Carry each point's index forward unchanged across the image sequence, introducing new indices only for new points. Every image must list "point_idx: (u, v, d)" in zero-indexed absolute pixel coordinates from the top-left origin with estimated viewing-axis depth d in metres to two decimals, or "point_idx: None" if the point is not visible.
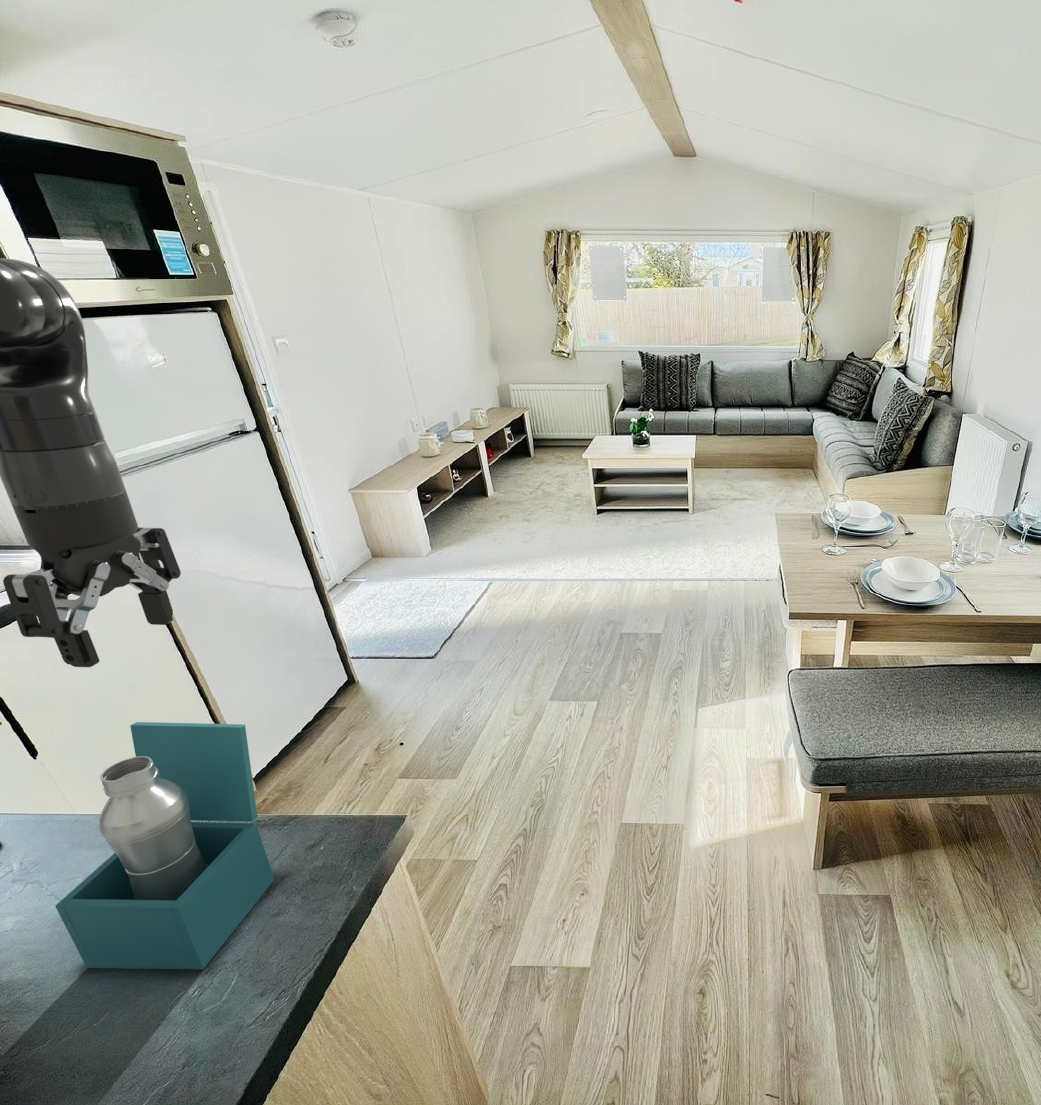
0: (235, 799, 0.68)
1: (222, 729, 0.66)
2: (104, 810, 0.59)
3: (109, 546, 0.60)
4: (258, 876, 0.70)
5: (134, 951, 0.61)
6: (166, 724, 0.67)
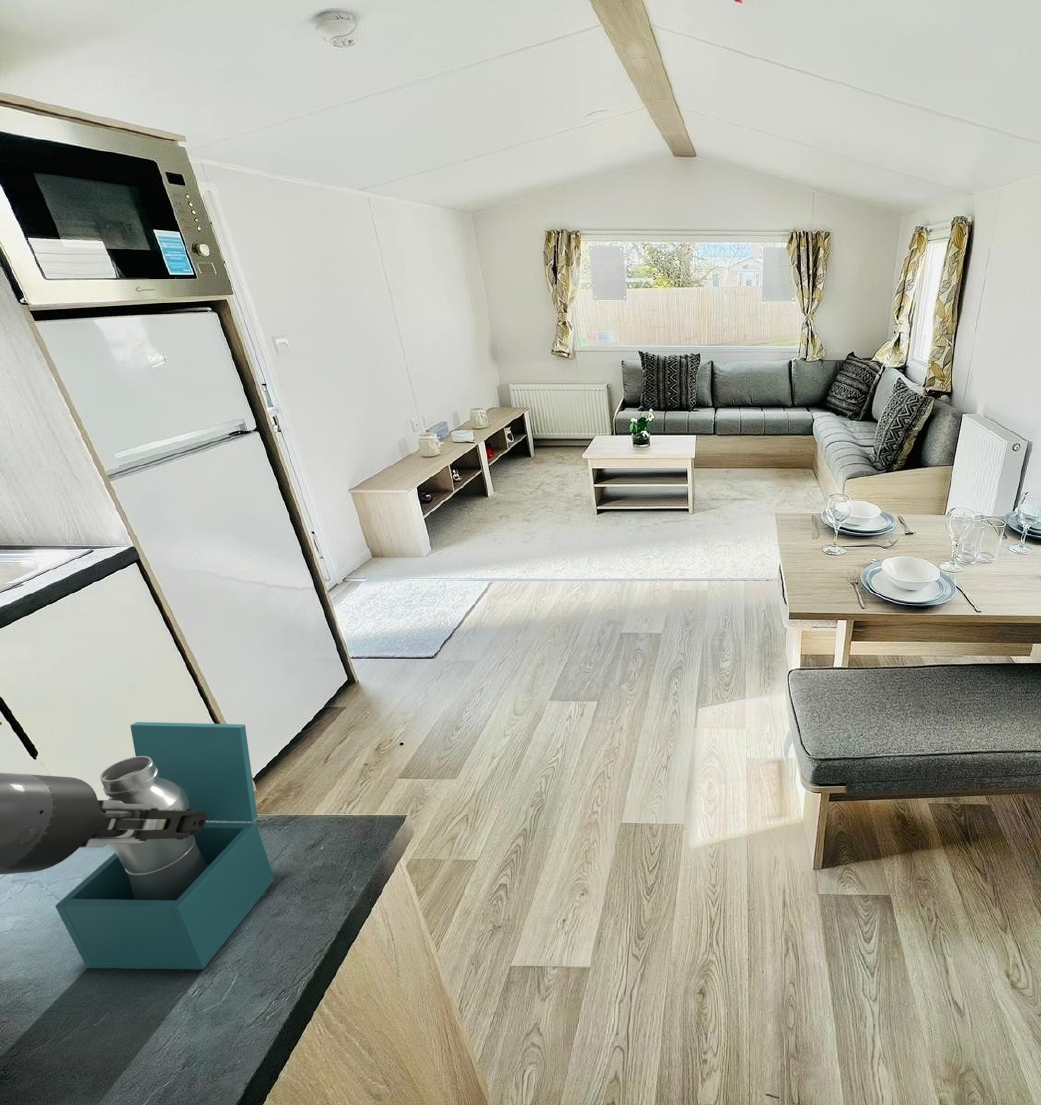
0: (235, 799, 0.68)
1: (222, 729, 0.66)
2: None
3: None
4: (258, 876, 0.70)
5: (134, 951, 0.61)
6: (166, 724, 0.67)
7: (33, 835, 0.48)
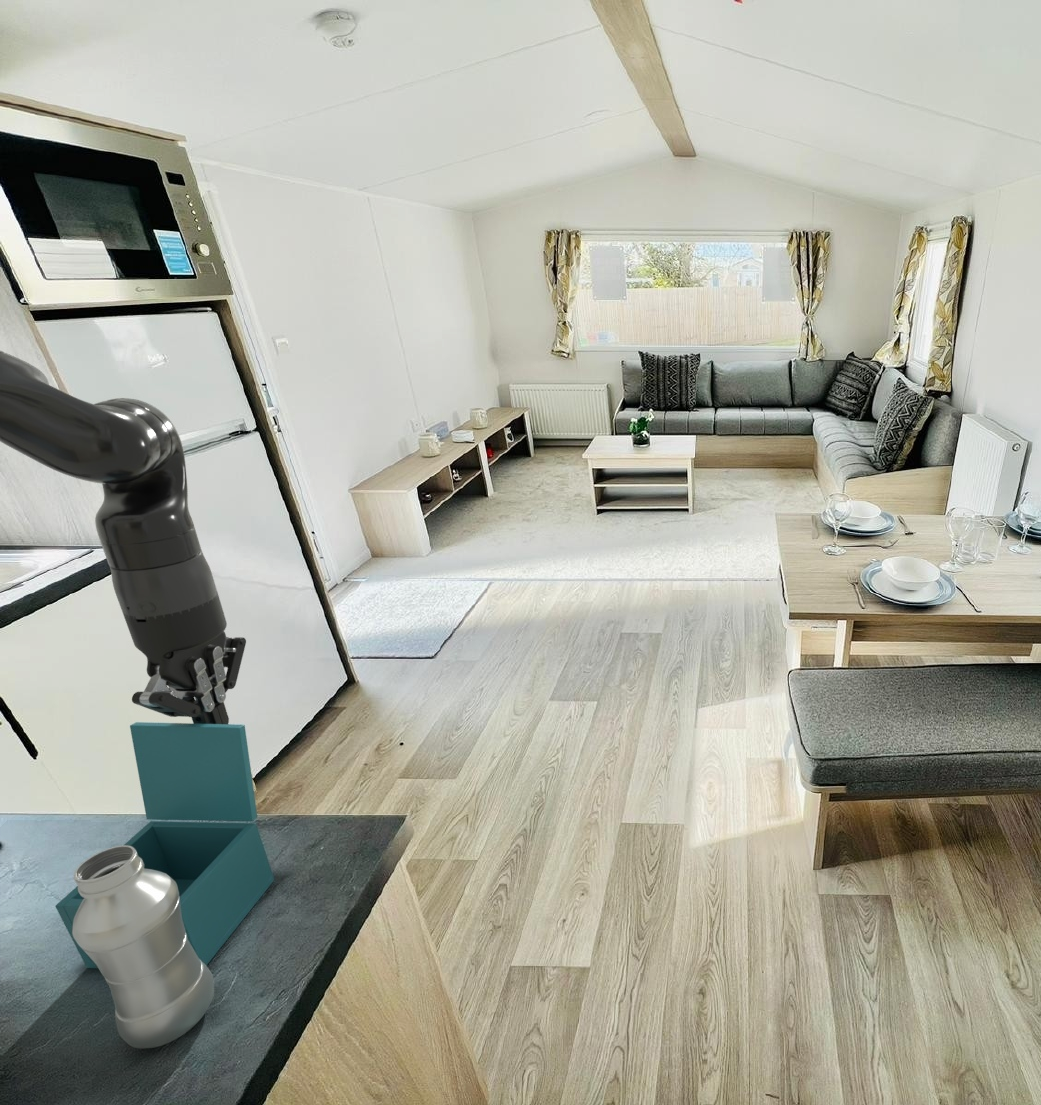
0: (234, 799, 0.68)
1: (222, 729, 0.66)
2: (79, 913, 0.50)
3: None
4: (258, 876, 0.70)
5: None
6: (166, 724, 0.66)
7: None
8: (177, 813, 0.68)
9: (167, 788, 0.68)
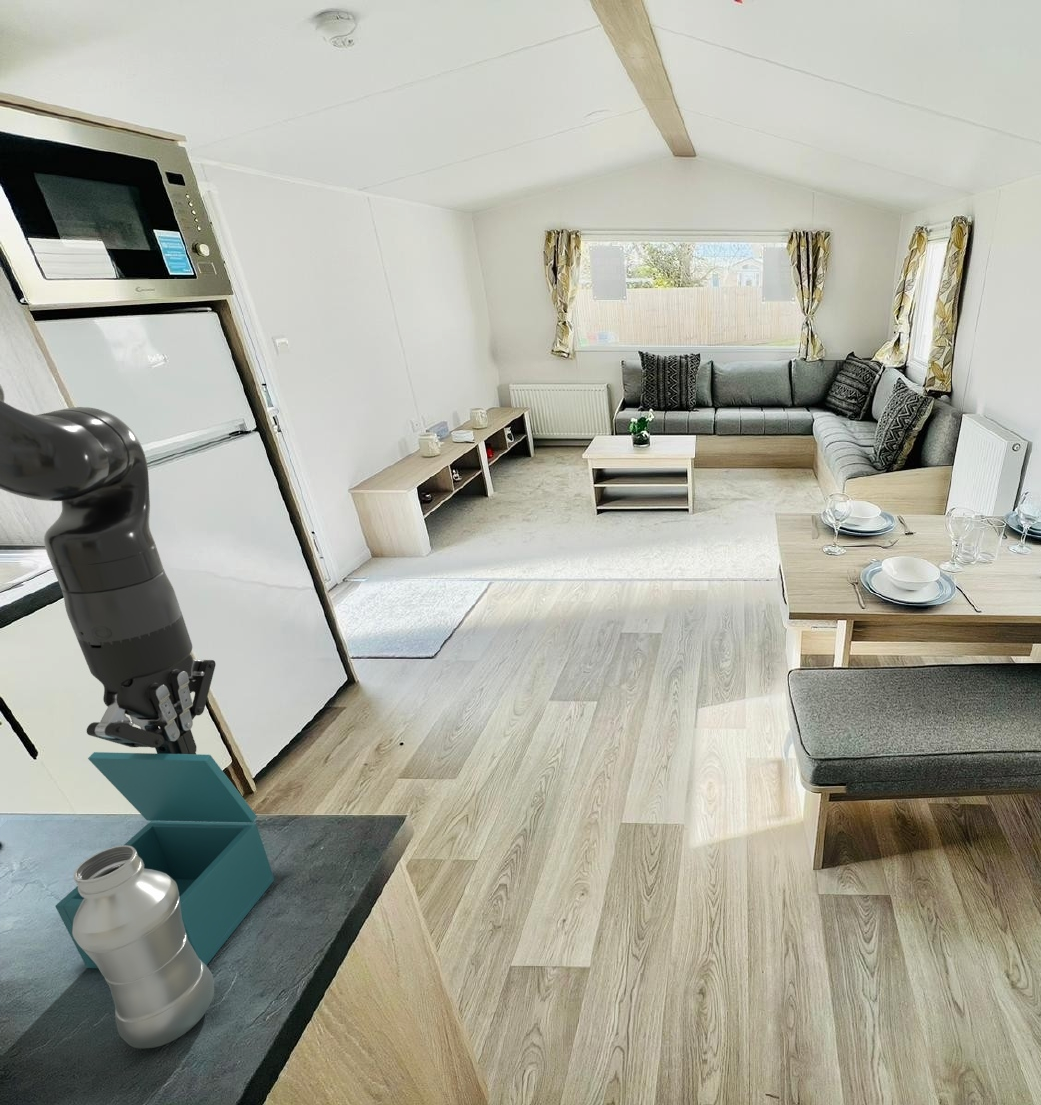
0: (227, 808, 0.67)
1: (187, 762, 0.62)
2: (79, 913, 0.50)
3: None
4: (258, 876, 0.70)
5: None
6: (126, 756, 0.62)
7: None
8: (175, 817, 0.68)
9: (155, 801, 0.66)
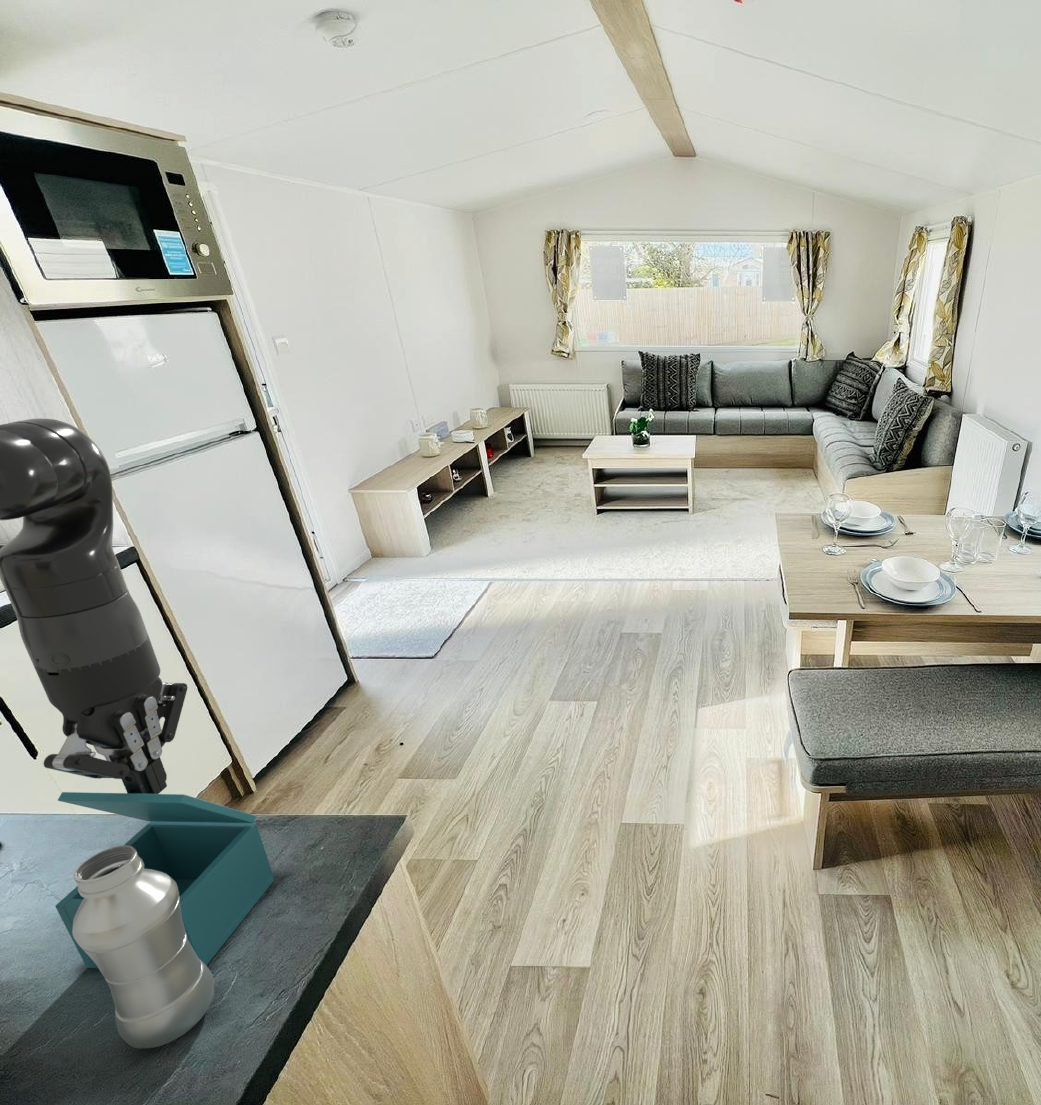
0: (222, 818, 0.66)
1: (162, 803, 0.59)
2: (79, 913, 0.50)
3: None
4: (258, 876, 0.70)
5: None
6: (96, 797, 0.59)
7: None
8: (174, 820, 0.68)
9: (147, 815, 0.65)
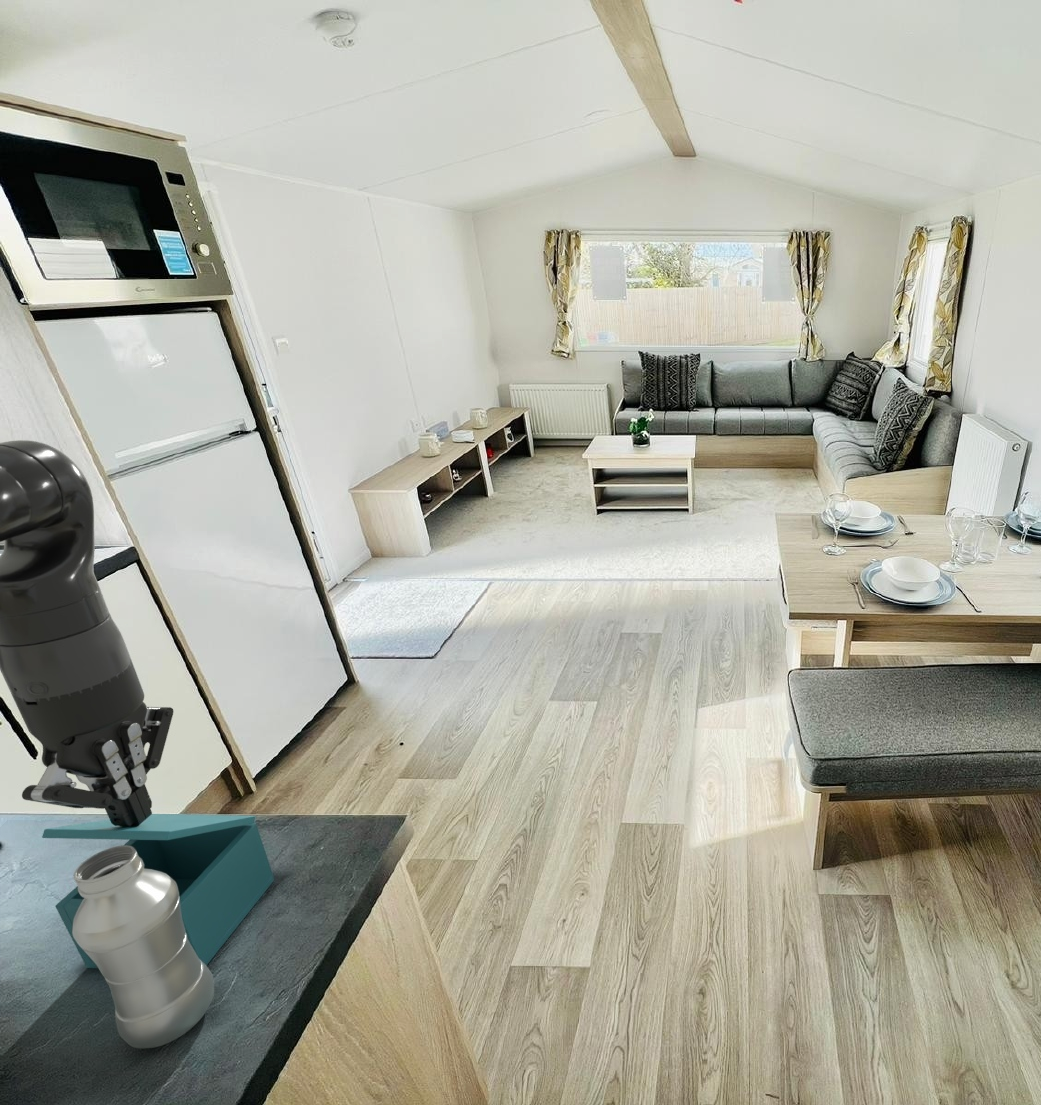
0: None
1: (149, 839, 0.58)
2: (79, 913, 0.50)
3: None
4: (258, 876, 0.70)
5: None
6: (81, 835, 0.58)
7: None
8: None
9: None
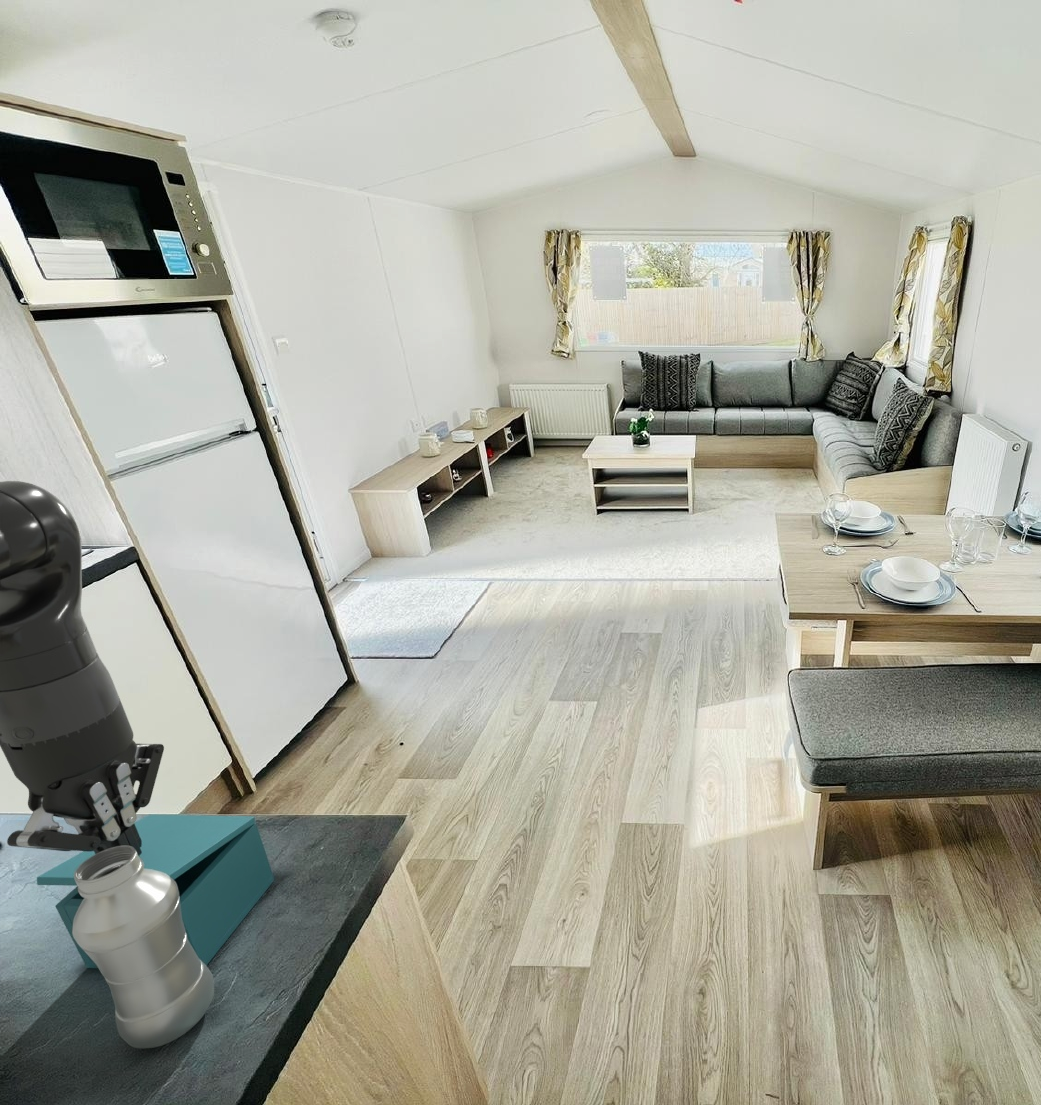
0: None
1: None
2: (79, 913, 0.50)
3: None
4: (258, 876, 0.70)
5: None
6: (75, 882, 0.57)
7: None
8: None
9: None
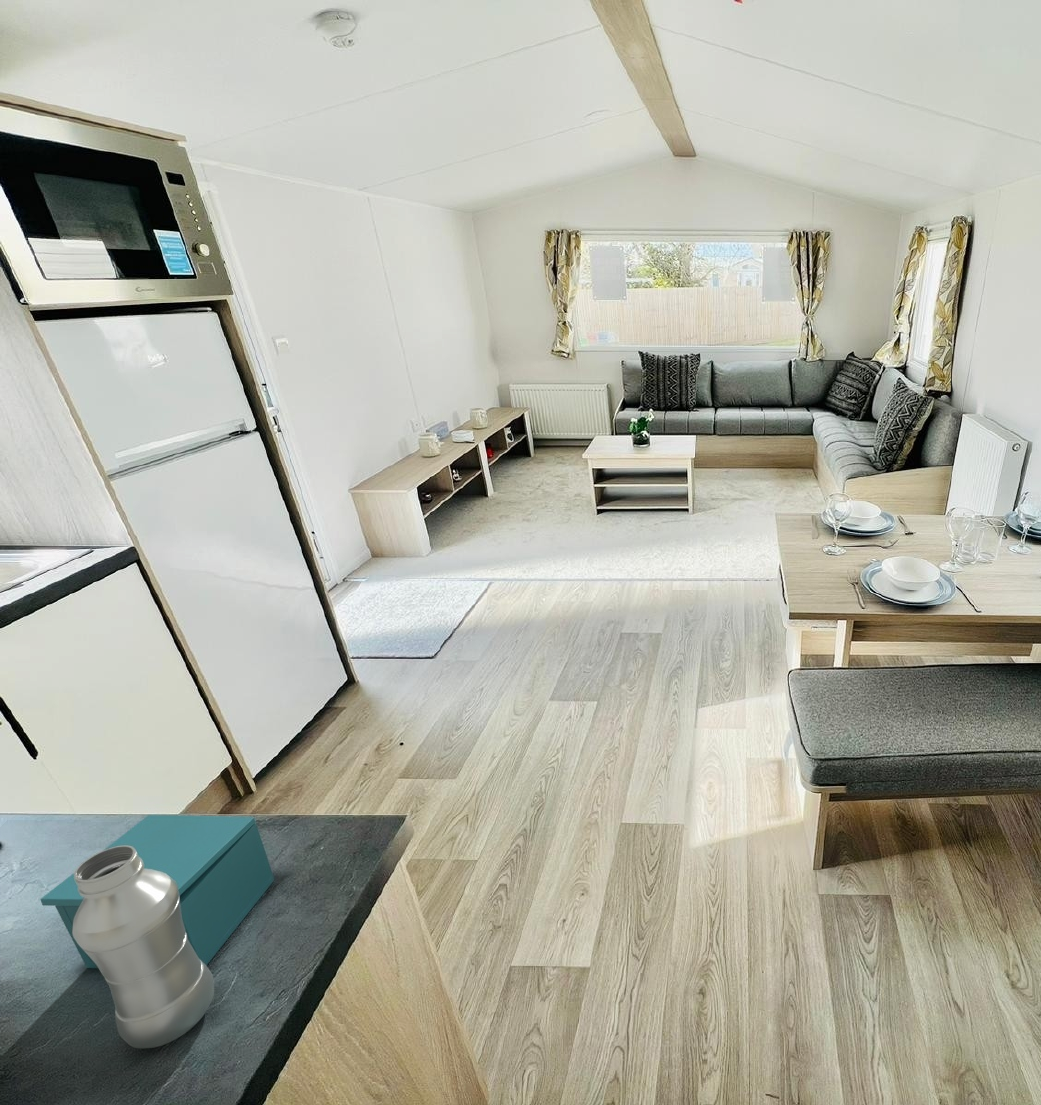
0: None
1: None
2: (79, 912, 0.50)
3: None
4: (258, 876, 0.70)
5: None
6: (80, 903, 0.58)
7: None
8: None
9: None
